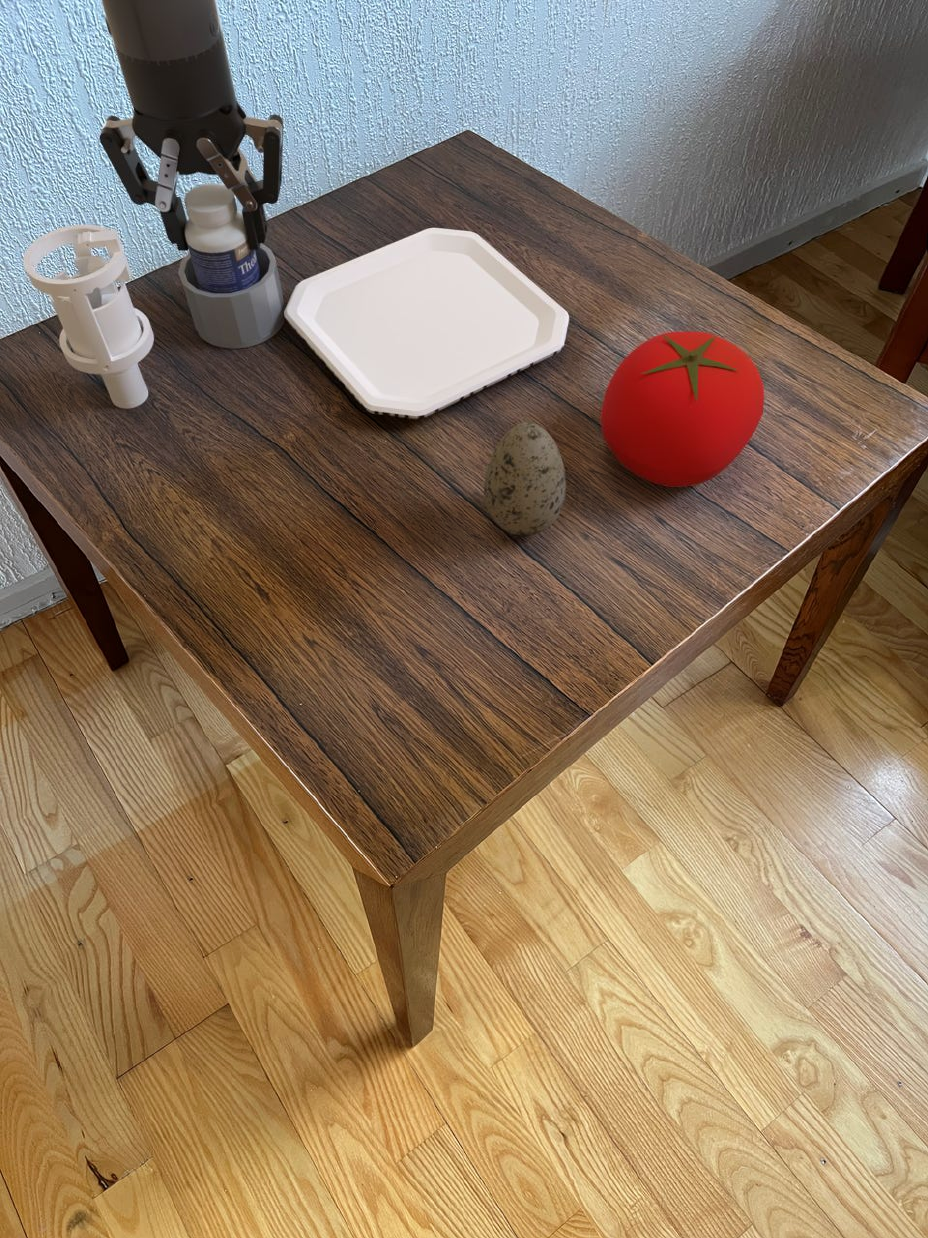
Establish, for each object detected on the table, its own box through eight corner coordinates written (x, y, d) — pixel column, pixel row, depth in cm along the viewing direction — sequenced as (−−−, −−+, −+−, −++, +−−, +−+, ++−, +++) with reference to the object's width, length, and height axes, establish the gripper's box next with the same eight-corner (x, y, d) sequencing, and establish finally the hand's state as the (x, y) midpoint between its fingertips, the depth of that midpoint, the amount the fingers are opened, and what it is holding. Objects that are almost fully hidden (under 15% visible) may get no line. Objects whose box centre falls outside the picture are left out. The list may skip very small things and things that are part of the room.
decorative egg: (558, 492, 75) (569, 396, 66) (564, 552, 71) (576, 459, 63) (482, 494, 75) (483, 398, 66) (485, 554, 71) (486, 461, 63)
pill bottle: (260, 318, 83) (237, 216, 75) (199, 318, 84) (169, 216, 75) (268, 279, 86) (247, 177, 78) (209, 279, 87) (181, 177, 78)
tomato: (569, 469, 76) (581, 366, 67) (649, 384, 81) (669, 278, 73) (694, 535, 72) (723, 435, 63) (769, 441, 78) (806, 336, 69)
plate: (590, 351, 84) (592, 330, 82) (389, 450, 78) (387, 430, 76) (457, 234, 93) (457, 213, 92) (270, 313, 87) (265, 293, 85)
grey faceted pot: (187, 349, 85) (171, 296, 80) (202, 289, 89) (187, 237, 85) (280, 348, 85) (268, 296, 80) (290, 289, 89) (280, 236, 85)
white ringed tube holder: (173, 418, 80) (116, 261, 67) (87, 431, 79) (13, 275, 67) (170, 362, 84) (116, 204, 71) (88, 374, 83) (19, 217, 71)
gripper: (276, 2, 68) (310, 217, 83) (76, 4, 69) (144, 218, 83) (263, 55, 64) (301, 272, 78) (50, 56, 64) (126, 272, 79)
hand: (220, 243), depth 80 cm, fingers closed on pill bottle, 5 cm apart
